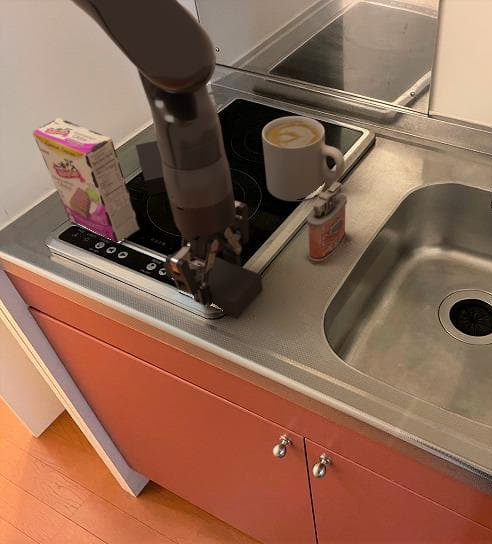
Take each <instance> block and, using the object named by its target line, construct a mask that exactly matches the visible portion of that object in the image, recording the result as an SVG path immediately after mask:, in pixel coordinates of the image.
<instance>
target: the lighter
mask: <svg viewBox="0 0 492 544" xmlns="http://www.w3.org/2000/svg"><path fill="white" fill-rule="evenodd" d="M342 192H343V184H342V183H341V182H338V181H335V183H333V184H332V185H331V186H330V187H329V188H328V189H327V190H325V192H324V191H322V192H321V193H320V194H319V195H317V198H316V200H315V201H314V202H313V204H312V207H313V208H312V209H311V210H310V212H309V213H308V215H307V216H306V224H307V226H308V248H309V250H308V255H307V256H308V258H307V259H308V261H309V262H310V264H313V265H315V266H316V265H319V266H320V265H323V264H325V263H326V262H328V261H329V260H330V259H332V258H333V257H334V256H335V255H336V254H337V253H338V252H339V251H340V250H341V248H342V247H343V246H344V244H345V242H346V240H347V231H346V205H347V203H348V197H347V195H346V194H344V193H342Z"/></svg>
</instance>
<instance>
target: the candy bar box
mask: <svg viewBox="0 0 492 544" xmlns="http://www.w3.org/2000/svg"><path fill="white" fill-rule="evenodd" d="M32 136H33V137H34V139H35V142H36V144H37V147H38V149H39V152H40V154H41V156H42V158H43V161H44V163H45V166H46V168H47V170H48V174H49V175H50V177H51V180H52V182H53V184H54V187H55V189H56V191H57V193H58V196H59V199H60V201H61V204H62V206H63V208H64V210H65V213H66V216H67V218H68V220H69V221H70V220H71V221H74V222H76V223H78V224H81V225H83V226H85V227H86V228H88V229H90V230H92V231H94V232H96V233H98V234H100V235H102V236H104V237H106V238H109V239H111V240H112V241H115V242H119V241H120V240H122V239H124V238H126V239H124V240H123V241H121V242H120V243H119V244H116V243H114V242H112V241H110V240H108V239H106V238H104V240H105V239H106V240H107V241H109V242H111V243H113V244H115V245H118V246H119V245H120V244H122V243H123V242H126V240H127V239H128V238H130V237H131V236H133V235H134V234H135V233H136V232H138V231H139V230H140V228H141V227H140V224H139V222H138V221H139V220H138V218H137V215H136V212H135V209H134V205H133V202H132V199H131V197H130V193H129V192H130V191H129V190H128V187H127V183H126V181H125V177H124V174H123V171H122V167H121V164H120V161H119V157H118V155H117V152H116V149H115V145H114V142H113V139H112V137H109V136H106V135H104V134H101V133H99V132H96V131H93V130H90V129H88V128H86V127H83V126H80V125H79V124H76V123H73V122H70V121H68V120H66V119H63V118H60V117H57V118H55V119H54V120H52V121H50V122H48V123H46V124H44V125H43V126H40V127H38V128H36V129H35V130H34V131H32ZM70 223H71V224H73V223H72V222H70ZM83 229H84V230H87V229H85V228H83ZM87 231H88V230H87Z"/></svg>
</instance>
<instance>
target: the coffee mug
mask: <svg viewBox="0 0 492 544" xmlns="http://www.w3.org/2000/svg"><path fill="white" fill-rule="evenodd" d="M261 139H262V150H263V158H264V171H265V180H266V188H267V191H268V192H269V194H271V195H272V196H273V197H275V198H277V199H278V200H281V201H286V202H304V201H308V200H307V199H303V200H297V199H301V198H304V197H306V196H308V195H310V194H311V193H313V192H314V191H316V190H317V189H318V188H319V187H320V186H322V185H323V184H324V183H328V182H334V181H337V180H339V179H340V178H341V177H342V175H343V173H344V171H345V165H346V163H345V157H344V155H343V153H342V152H341V150H340V149H338V148H336V147H335V146H330V145H327V144H326V130H325V127H324V126H323V124H322V123H320V121H318V120H316V119H313V118H312V117H308V116H302V115H301V116H300V115H292V116H291V115H289V116H283V117H279V118H276V119H273V120H272V121H270V122H268V123H267V124H266V125H265V126H264V127H263V129H262V131H261ZM327 157H331V158H332V159H333V160H334V163H335V170H331V169H330V167H328V164H327Z"/></svg>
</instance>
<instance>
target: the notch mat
mask: <svg viewBox="0 0 492 544" xmlns="http://www.w3.org/2000/svg"><path fill="white" fill-rule="evenodd" d="M135 149H136V152H137V157H138V161H139V164H140V168H141V171H142V175H143V179H144V183H145V187H146V190H147V194H148V196H153V195H158V194H163V193H167V190H166V186H165V182H164V177H163V169H162V160H161V155H160V151H159V147H158V143H157V140H153V141H148V142H144V143H138V144H135Z"/></svg>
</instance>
